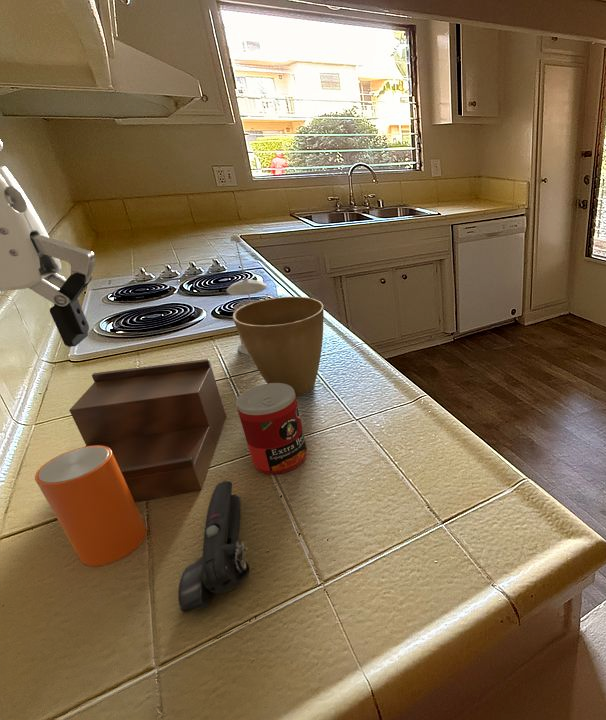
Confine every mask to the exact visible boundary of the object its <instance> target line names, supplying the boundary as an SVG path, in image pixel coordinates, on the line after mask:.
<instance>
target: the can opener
mask: <svg viewBox="0 0 606 720" xmlns="http://www.w3.org/2000/svg"><path fill="white" fill-rule="evenodd" d="M232 491H233V483H232V481H229V480H224V481H221V482H219V483H218V484H216V486H215V487H214V489H213V492H212V494H211V498H210V500H209V504H208V508H207V512H206V517H205V523H204V525H205V526H204V531H203V543H202V556H201V557H200V558H198V559H197V560H195V561H194V562H192V563H190V564H189V565H188V566H186V567H185V569H184V570H183V572H182V575H181V577H180V580H179V585H178V591H177V592H178V594H177V595H178V596H177V597H178V604H179V607H180V611H181V613H184V614H186V613H190V612H193V611H197V610H199V609H203V608H207V607H208V606H209V605H210V603H212V600H213V598H214V595H215V594H225V593H228V592H230V591H231V590H233V589H235V588H236V587H237V586H238V585H241V583H242V582H243V581H244V580H245V579H246V578H247V577H248V576H249V574H250V572H251V567H250V564H249V563H248V562H247V561H246V559H245V557H244V556H245V553H246V551H248V547H245V542H244V540H242V541H241V543H239V532H240V526H241V510H242V509H241V498H240V496H239V495H236V494H232Z"/></svg>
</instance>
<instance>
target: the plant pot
mask: <svg viewBox="0 0 606 720" xmlns="http://www.w3.org/2000/svg"><path fill="white" fill-rule="evenodd" d="M260 300H261V301H257V302H254V303H250V304H247V305H245V306H243V307H241V308H239V309H237V310H234V312H233V314H232V320H233V323H234V325H235V327H236V329H237V332H239V333H238V335H239V334H240V336H239V338H240V337H241V339H242V341H243V343H244V345H245V347H246V349H247V351H248V353H249V354H248V355H249V357H250V358H251V361H252V362H253V364H254V366H255V367H256V369H257V371H258V372H259V373H260V375H261V376H262V378H263V380H264V382H265V383H266V384H268V383H283V384H287V385H289V386H291V387H292V388H293V389H294V392H295V395H296V397H300V396H302V395H306V394H307V393H310V391H312V390H313V389H314V387H315V385H316V381H317V377H318V373H319V367H320V362H321V355H322V349H323V340H324V304H323V303H322V302H321V301H320V300H318V299H315V298H311V297H306V296H281V297H280V296H279V297H275V298H273V297H271V298H269V299H266V298H265V299H263V300H262V299H260Z"/></svg>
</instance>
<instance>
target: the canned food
mask: <svg viewBox="0 0 606 720" xmlns="http://www.w3.org/2000/svg"><path fill="white" fill-rule="evenodd" d="M235 404H236V410H237V413H238V417H239V421H240V425H241V427H242V430H243V435H244V438H245V441H246V444H247V448H248V450H249V454H250V455H249V456H250V458H251V461H252V464H253V466H254V467H255V468H256V470H258V471H259V472H260V473H263V474H266V475H277V474H278V475H280V474H283V473H288V472H290V471H293V470H294V469H296V468H297V467H300V465H301V464H302V463H303V462H304V460H306V457H307V452H308V447H307V441H306V438H305V433H304V428H303V423H302V418H301V413H300V408H299V404H298V400H297V396H296V395H295V392H294V389H293V388H292V387H291V386H289V385H287V384H283V383H268V384H267V383H262V384H259V385H255V386H253V387H250V388H248V389H246V390H245V391H243V392H242V393H240V394H239V395H238V397H237V398H236V401H235Z"/></svg>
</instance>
